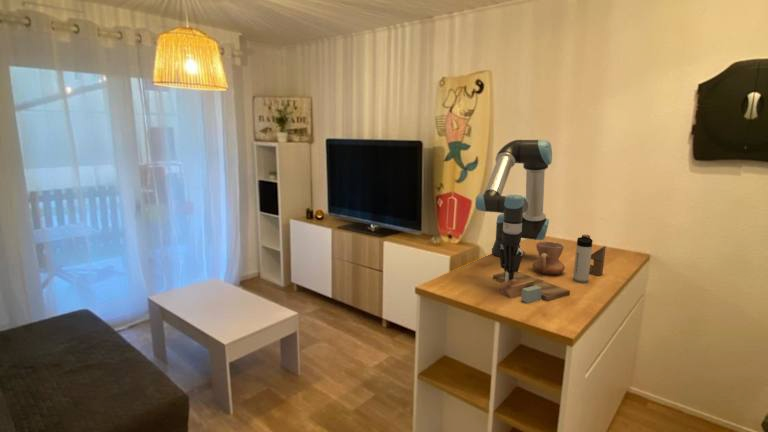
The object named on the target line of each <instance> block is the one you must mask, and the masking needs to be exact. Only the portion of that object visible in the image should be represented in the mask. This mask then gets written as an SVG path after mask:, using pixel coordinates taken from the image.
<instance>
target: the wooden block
mask: <svg viewBox="0 0 768 432" xmlns="http://www.w3.org/2000/svg"><path fill="white" fill-rule="evenodd" d="M582 236H583V237H586V238H590V239H591V235H589V234H582V235H581V237H582ZM606 247H607V246H606V245H604V246H602V247H601V248H599V249H598V250H596V251H595V252H593V253H591V260H592V261H593V262H592V263H593V264H590V270H589V275H594V276H599V277H601V276H602V275H603V274H604V273H603V272H604V265H605V264H604V263H605V256H606Z"/></svg>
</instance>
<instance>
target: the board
mask: <svg viewBox="0 0 768 432" xmlns="http://www.w3.org/2000/svg"><path fill="white" fill-rule="evenodd" d="M493 278H494V279H493ZM492 279H493V280H495V279H496V280H495V281H497V280H498V282H500V281H501V282H500V283H502V282H505V277H504V272H501V273H496V274H493V275H492ZM513 279H516V280H519V281H521V282H527V281H531V280H533V281H535V284H533V285H529V286H526V288H527V287H531V286H535V285H536V286H539V287H541V288H542V294H541V300H542V301H545V302H550V301H553V300H557V299H560V298H564V297H567V296H570V294H571V290H568V289H566V288H563V287H560V286H558V285H556V284H553V283H550V282H547V281H544V280H543V279H539V278H536V277H534V276H531V275H528V274H525V273H523V272H520V271H519V270H518V271H517V272H514V277H513ZM513 279H512V280H513Z"/></svg>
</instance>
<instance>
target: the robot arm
mask: <svg viewBox="0 0 768 432" xmlns="http://www.w3.org/2000/svg"><path fill="white" fill-rule="evenodd" d="M552 160H553V150H552V144H551V142H550V140H545V139H544V140H543V139H516V140H512V141H510V142H508V143H506V144H505V145H504V146H503V147H502V148H500V149H499V151H498V152H497V154H496V156H495V164H494V167H493V170H492V172H491V174H490V178H489V180H488V182H487V185H486V188H485V191H484V193H481V194H480V193H479V194H477V196H476V197H475V209H476V210H477V211H479V212H480V211H481V212H485V213H487V212H489V213H498V215H497V219H496V224H495V225H496V228H495V230H496V231H495V240H494V243H493V247H492V248H491V255H493V256H495V257H499V261H500V262H499V263H500V268H501V269H503V273H504V277H505V281H509V280H512V279H513V277H514V272H517V271H518V272H519V270H520V269H519V268H520V265H521V262H522V259H523V257H524V255H525V254H526V253H525V251H524V250H521V249H522V248H521V246H520V243H521V242H522V241H521V240H522V239H525V240H526V239H527V240H534V241H537V240H538V241H544V240H545V238H546V236H547V232H548V228H549V222H550V220H549V218H547V215H546V213H544V198H545V197H544V196H545V194H544V193H545V172H546V170H547V169H548V168H549V165H551V164H552V162H553V161H552ZM515 164H523V169H524V170H525V171H526V176H525V178H526V181H525V182H526V183H525V196H523V195H520V194H507V195H506V196H505V195H502V194H503V193H504V192H503V191H504V188H505V185H506V184H507V181H508V177H509V176H510V172H511V169H512V168H513V167H514V166H515ZM499 213H500V214H499Z"/></svg>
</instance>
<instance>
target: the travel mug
mask: <svg viewBox="0 0 768 432" xmlns="http://www.w3.org/2000/svg"><path fill="white" fill-rule="evenodd" d="M576 240H577V241H576V249H575V256H574V257H575V258H574V259H575V260H574V267H573V268H574V269H573V276H572V279H573V281H574V282H576V283H580V284H583V283H584V284H586V283H588V282H589V279H590V277H589V276H590V273H589V270H590V265H591V260H592V259H591V254H592V251H593V250H592V249H593V242H594V241H593V239H592V238H591V237H590V238H586V237H583V236H582V235H581V236H580V237H577V239H576Z"/></svg>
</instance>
